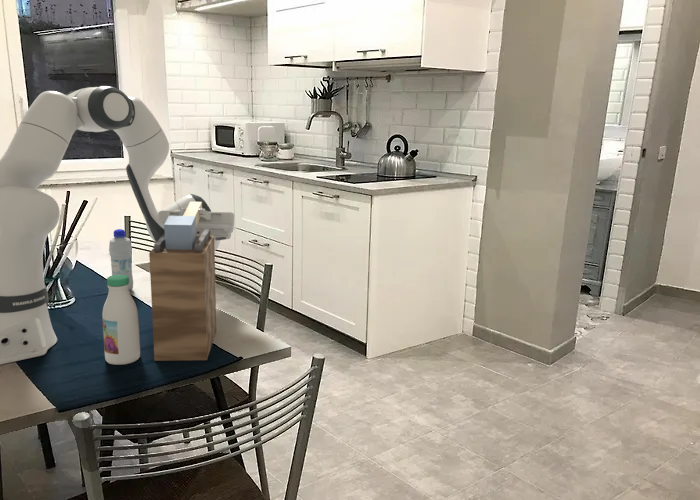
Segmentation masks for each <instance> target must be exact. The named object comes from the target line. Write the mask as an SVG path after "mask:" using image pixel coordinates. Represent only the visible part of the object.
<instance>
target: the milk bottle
mask: <svg viewBox="0 0 700 500" xmlns="http://www.w3.org/2000/svg"><path fill="white" fill-rule="evenodd" d="M106 282H107V283H106V284H107V288H108V293H107V296H106V297H107V298H106V300H105V302H104V305H103V307H102V317H101V318H102V333H103V334H102V337H103V347H104V348H103V349H104V350H103V351H104V359H105V361H106V362H107V364H109V365H115V366H116V365H117V366H118V365H119V366H122V365H128V364H132V363H134V362H136V361H137V360H139V358H140V357H141V345H140V344H141V342H140V341H141V340H140V325H139V314H138V307H137V305H136V302H135V300H134V299H133V297H132V295H131V293H130V292H131V291H130V292H129V289H128V286H129V277H128V276H126V275H113V276H112V275H110V276H107V278H106Z"/></svg>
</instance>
